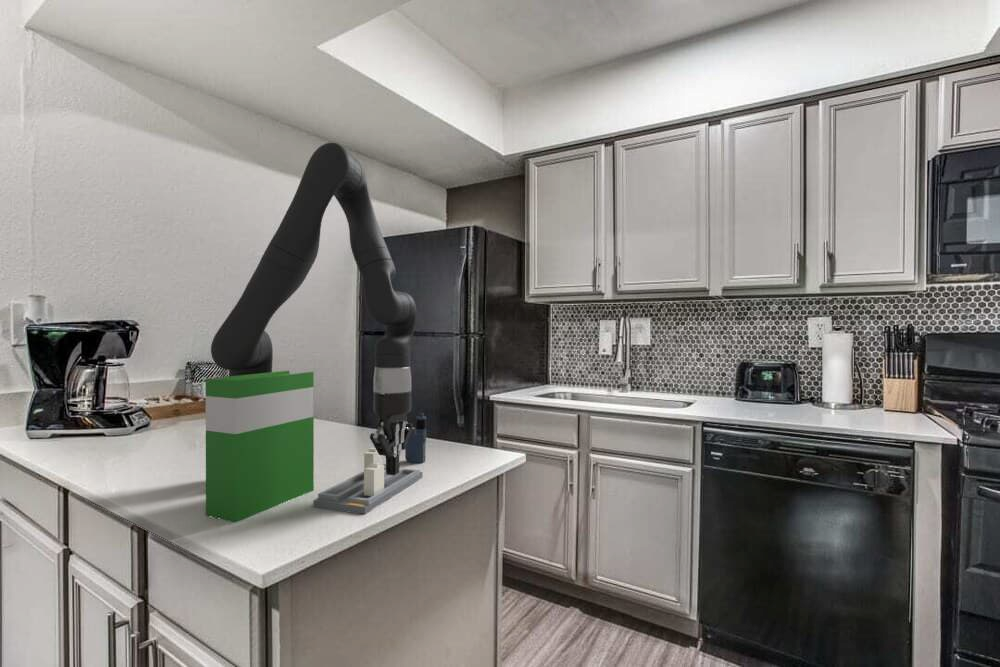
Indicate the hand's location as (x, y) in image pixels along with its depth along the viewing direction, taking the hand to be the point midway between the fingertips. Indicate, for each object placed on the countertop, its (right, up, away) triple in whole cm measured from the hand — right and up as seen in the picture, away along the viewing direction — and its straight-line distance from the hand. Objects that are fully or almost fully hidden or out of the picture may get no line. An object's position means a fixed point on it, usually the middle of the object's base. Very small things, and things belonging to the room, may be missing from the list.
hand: (392, 473), depth 99 cm
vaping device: (+1, -3, +21) cm, 21 cm away
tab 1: (-5, -2, +5) cm, 8 cm away
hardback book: (-23, -4, -7) cm, 24 cm away
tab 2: (-2, -2, -6) cm, 7 cm away
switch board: (-4, -3, -1) cm, 5 cm away
